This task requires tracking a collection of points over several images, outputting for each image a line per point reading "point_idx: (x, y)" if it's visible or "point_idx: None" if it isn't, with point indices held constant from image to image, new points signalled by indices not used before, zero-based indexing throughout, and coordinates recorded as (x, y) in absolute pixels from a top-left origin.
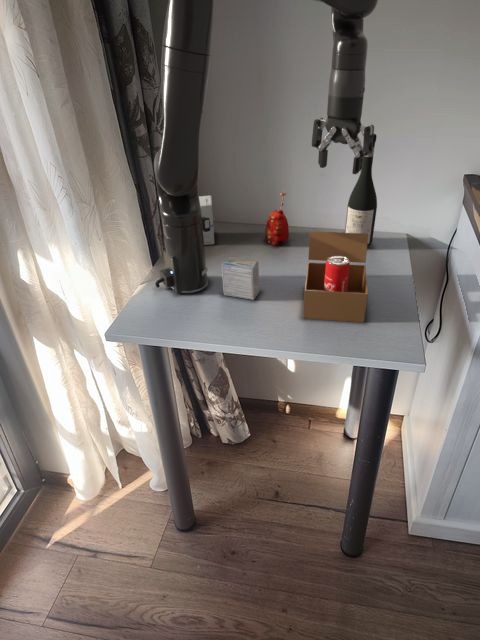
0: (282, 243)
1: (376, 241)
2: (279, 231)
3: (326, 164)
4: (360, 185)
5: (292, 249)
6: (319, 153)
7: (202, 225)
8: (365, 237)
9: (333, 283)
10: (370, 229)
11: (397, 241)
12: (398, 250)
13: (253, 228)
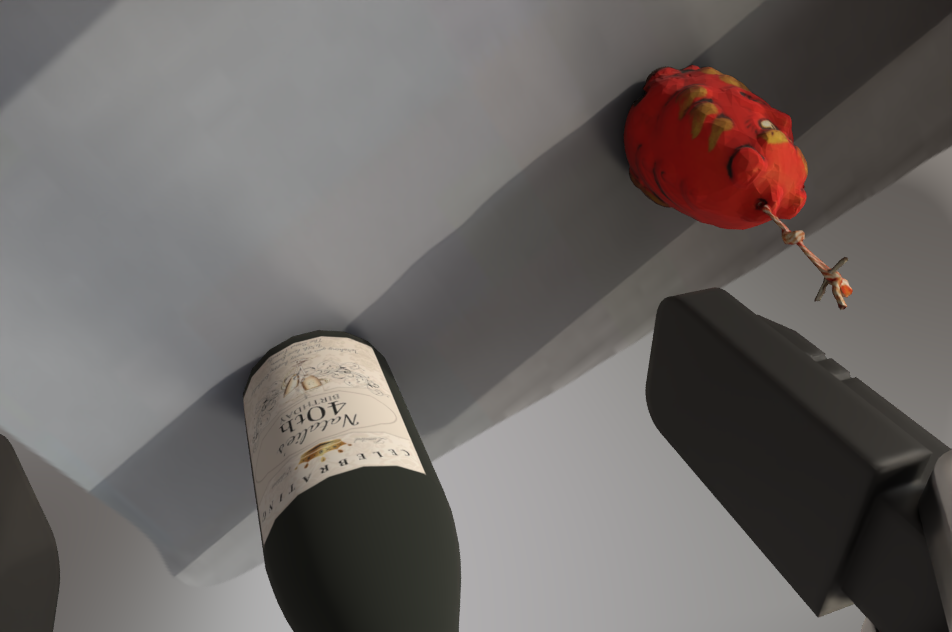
0: (630, 109)
1: None
2: (684, 109)
3: (659, 419)
4: (400, 625)
5: (558, 105)
6: (911, 434)
7: None
8: None
9: None
10: (251, 452)
11: (178, 528)
12: (102, 468)
13: (821, 170)
